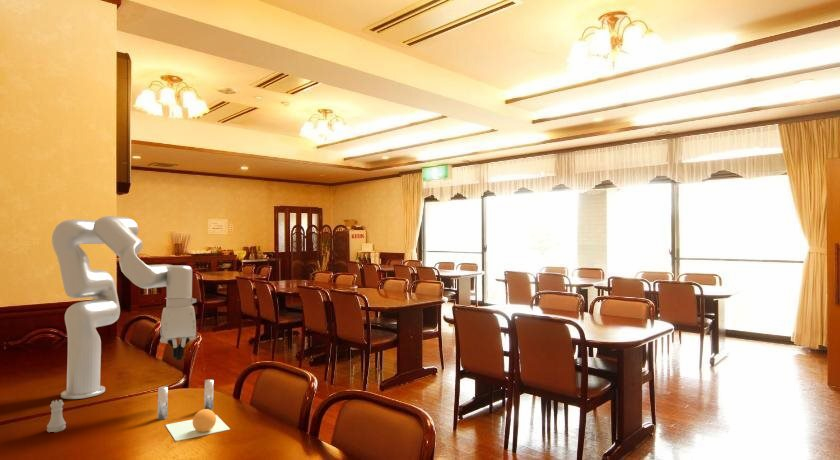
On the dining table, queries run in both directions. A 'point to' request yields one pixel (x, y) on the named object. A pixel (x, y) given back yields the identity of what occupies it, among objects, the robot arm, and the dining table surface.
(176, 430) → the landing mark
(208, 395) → the post
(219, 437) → the dining table surface
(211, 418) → the ball
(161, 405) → the post
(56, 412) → the rook chess piece
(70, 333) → the robot arm
